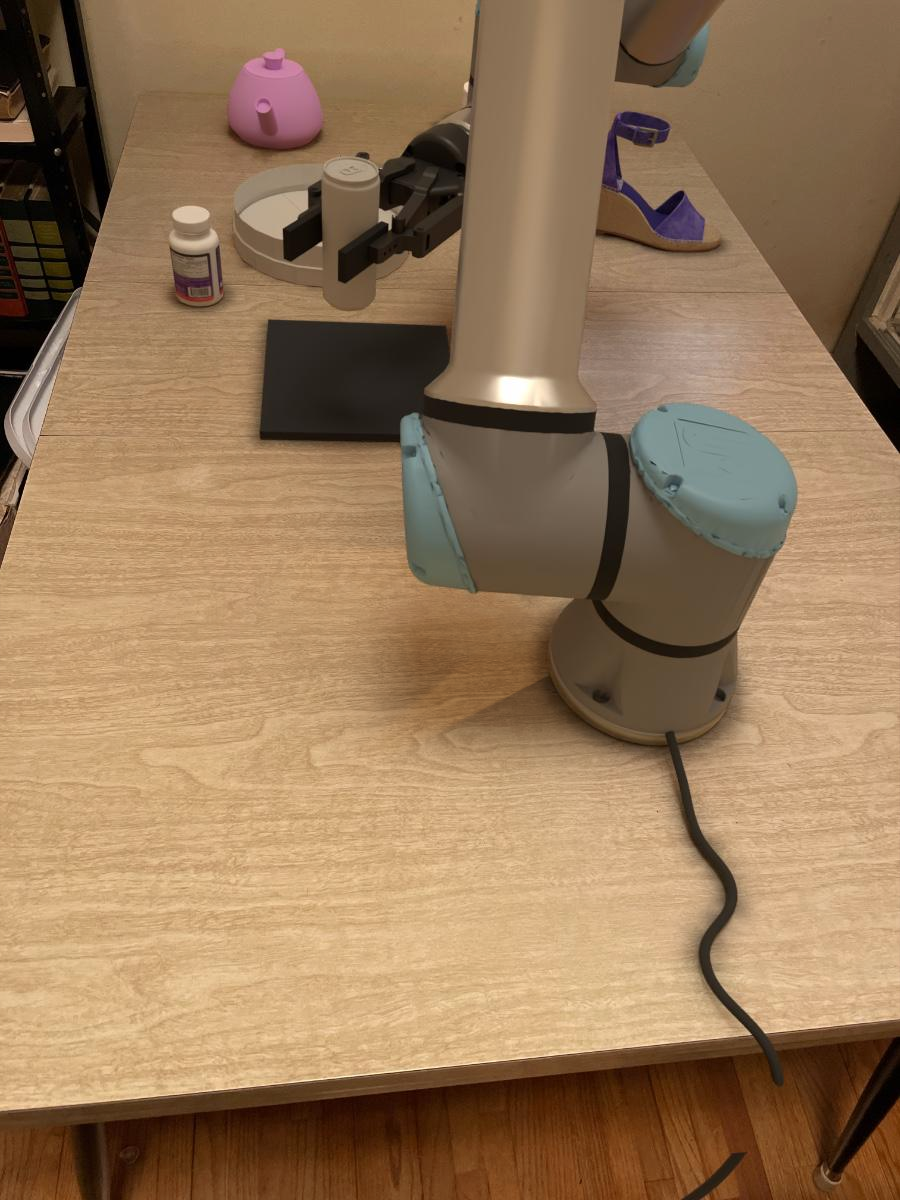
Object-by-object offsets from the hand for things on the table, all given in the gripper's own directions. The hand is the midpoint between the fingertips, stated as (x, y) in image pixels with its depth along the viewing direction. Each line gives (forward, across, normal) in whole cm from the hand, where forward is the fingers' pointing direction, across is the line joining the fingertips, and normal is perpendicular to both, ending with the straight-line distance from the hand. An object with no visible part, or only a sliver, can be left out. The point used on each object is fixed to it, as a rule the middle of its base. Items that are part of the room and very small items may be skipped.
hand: (314, 256), depth 80 cm
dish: (-34, +23, -20) cm, 46 cm away
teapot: (-55, +46, -21) cm, 75 cm away
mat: (-12, +3, -20) cm, 23 cm away
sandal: (-64, -10, -21) cm, 68 cm away
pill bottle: (-14, +26, -20) cm, 36 cm away
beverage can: (-5, 0, -7) cm, 9 cm away
